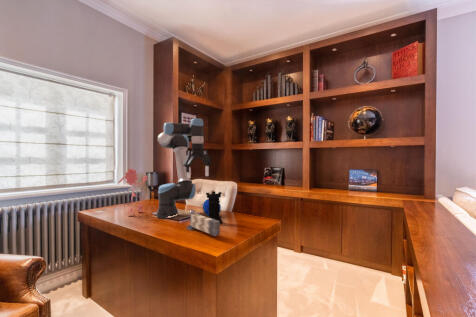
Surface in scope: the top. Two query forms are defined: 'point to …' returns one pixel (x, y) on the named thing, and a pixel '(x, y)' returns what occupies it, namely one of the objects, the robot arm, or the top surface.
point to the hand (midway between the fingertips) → (198, 176)
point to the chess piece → (214, 205)
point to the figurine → (131, 178)
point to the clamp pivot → (191, 221)
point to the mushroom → (206, 207)
